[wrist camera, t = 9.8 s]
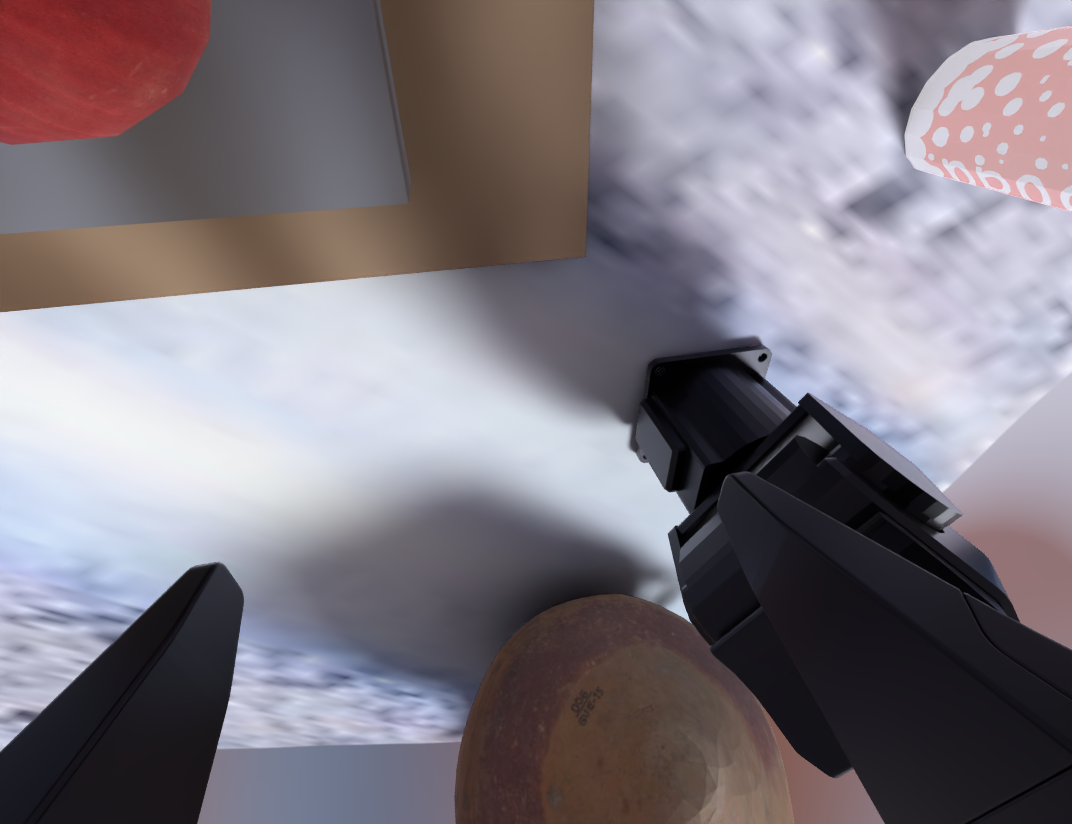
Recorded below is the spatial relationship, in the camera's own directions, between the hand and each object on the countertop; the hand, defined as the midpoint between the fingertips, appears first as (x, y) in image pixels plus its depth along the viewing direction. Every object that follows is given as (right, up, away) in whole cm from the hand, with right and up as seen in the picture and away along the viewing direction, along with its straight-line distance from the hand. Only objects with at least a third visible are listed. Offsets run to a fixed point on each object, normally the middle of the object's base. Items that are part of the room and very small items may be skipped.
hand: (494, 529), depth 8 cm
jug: (+2, -19, +31) cm, 36 cm away
